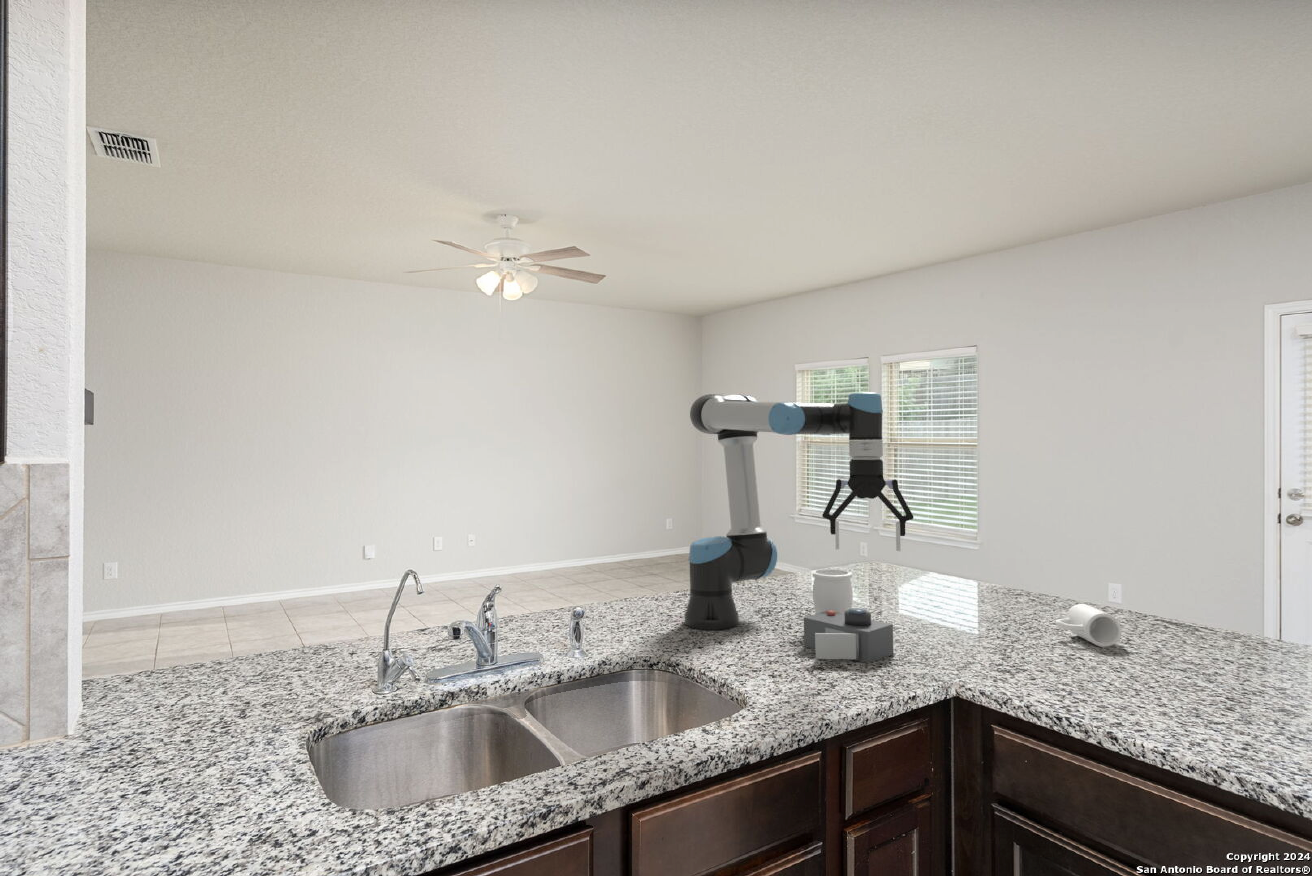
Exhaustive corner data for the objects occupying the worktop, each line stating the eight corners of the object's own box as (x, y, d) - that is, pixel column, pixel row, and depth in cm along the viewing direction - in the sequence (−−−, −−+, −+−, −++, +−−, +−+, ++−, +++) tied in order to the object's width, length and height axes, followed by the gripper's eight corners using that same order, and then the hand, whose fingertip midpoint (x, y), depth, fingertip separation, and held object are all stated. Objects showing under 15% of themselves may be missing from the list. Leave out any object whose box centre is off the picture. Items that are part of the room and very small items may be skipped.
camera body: (803, 646, 164) (802, 605, 164) (829, 638, 170) (828, 598, 170) (868, 663, 150) (867, 618, 150) (893, 654, 156) (892, 611, 156)
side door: (816, 658, 152) (815, 633, 152) (815, 657, 153) (815, 632, 153) (859, 659, 151) (859, 634, 151) (859, 658, 152) (858, 633, 152)
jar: (858, 633, 174) (857, 575, 174) (818, 634, 174) (816, 576, 174) (847, 623, 184) (846, 568, 185) (809, 623, 185) (808, 568, 185)
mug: (1099, 635, 168) (1098, 603, 169) (1122, 647, 158) (1121, 613, 159) (1048, 635, 170) (1047, 603, 170) (1069, 646, 160) (1068, 613, 160)
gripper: (810, 459, 157) (812, 550, 157) (924, 458, 150) (926, 553, 150) (812, 458, 164) (813, 545, 164) (921, 457, 157) (923, 548, 157)
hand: (867, 549), depth 157 cm, fingers open, 13 cm apart
